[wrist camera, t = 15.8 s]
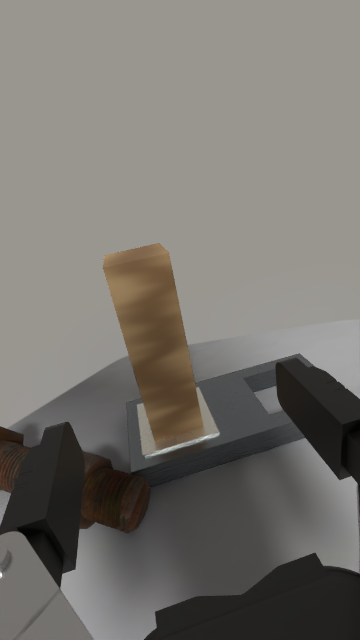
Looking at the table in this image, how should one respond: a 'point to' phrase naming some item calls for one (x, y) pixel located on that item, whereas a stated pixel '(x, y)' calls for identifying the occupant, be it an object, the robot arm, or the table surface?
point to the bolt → (87, 486)
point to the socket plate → (213, 427)
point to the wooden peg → (154, 337)
